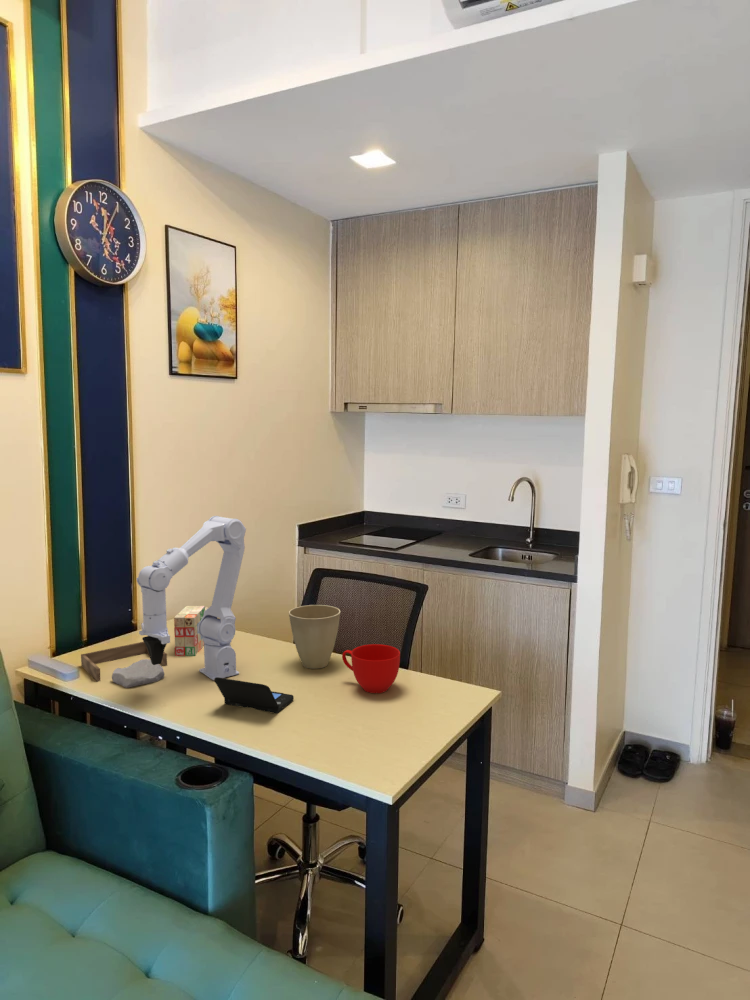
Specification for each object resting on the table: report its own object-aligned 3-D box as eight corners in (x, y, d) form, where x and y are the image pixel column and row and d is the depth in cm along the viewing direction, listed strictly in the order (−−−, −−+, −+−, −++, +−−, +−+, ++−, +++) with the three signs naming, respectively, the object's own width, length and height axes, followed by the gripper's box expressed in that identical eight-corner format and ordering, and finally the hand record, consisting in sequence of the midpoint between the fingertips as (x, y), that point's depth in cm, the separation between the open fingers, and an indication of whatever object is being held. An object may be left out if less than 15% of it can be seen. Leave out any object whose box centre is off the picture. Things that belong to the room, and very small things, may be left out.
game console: (295, 700, 175) (295, 666, 174) (268, 722, 163) (267, 685, 161) (243, 691, 181) (243, 658, 180) (213, 711, 168) (212, 676, 167)
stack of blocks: (195, 633, 228) (194, 597, 226) (214, 634, 228) (213, 598, 226) (174, 656, 207) (173, 616, 205) (195, 656, 207) (194, 616, 205)
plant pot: (351, 664, 200) (351, 611, 198) (312, 678, 190) (312, 622, 188) (317, 651, 210) (316, 601, 208) (279, 664, 200) (278, 611, 198)
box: (167, 665, 199) (166, 653, 198) (97, 681, 187) (96, 669, 186) (148, 651, 210) (147, 640, 210) (81, 666, 198) (80, 654, 198)
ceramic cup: (355, 673, 193) (355, 638, 192) (408, 685, 185) (408, 649, 183) (329, 688, 182) (329, 652, 181) (384, 702, 174) (384, 664, 172)
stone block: (168, 684, 190) (148, 668, 196) (169, 668, 189) (148, 653, 195) (129, 698, 181) (109, 682, 187) (130, 683, 180) (110, 666, 186)
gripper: (129, 609, 179) (131, 659, 181) (149, 622, 168) (151, 675, 170) (155, 604, 184) (157, 653, 185) (177, 616, 172) (179, 668, 174)
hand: (156, 663), depth 178 cm, fingers closed
